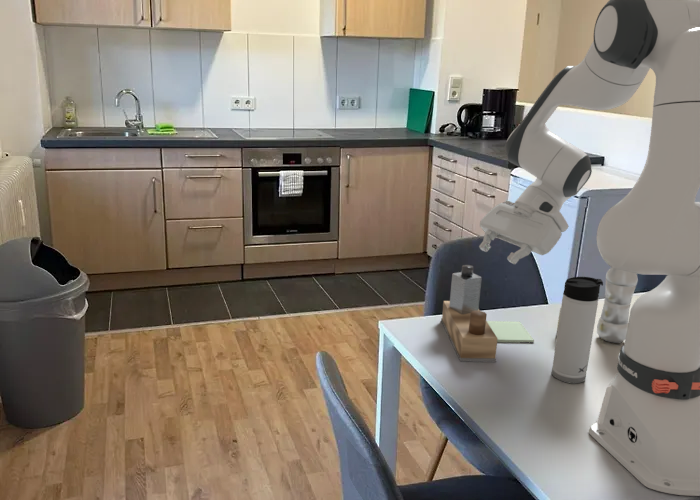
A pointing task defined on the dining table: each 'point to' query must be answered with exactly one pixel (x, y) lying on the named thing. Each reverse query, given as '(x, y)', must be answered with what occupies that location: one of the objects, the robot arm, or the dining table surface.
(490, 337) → the plane body
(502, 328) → the felt mat
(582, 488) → the dining table surface
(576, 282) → the travel mug
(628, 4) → the robot arm
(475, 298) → the lever cap
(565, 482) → the dining table surface
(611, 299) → the plastic bottle
